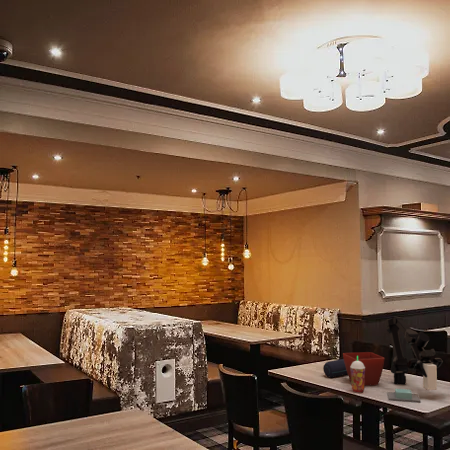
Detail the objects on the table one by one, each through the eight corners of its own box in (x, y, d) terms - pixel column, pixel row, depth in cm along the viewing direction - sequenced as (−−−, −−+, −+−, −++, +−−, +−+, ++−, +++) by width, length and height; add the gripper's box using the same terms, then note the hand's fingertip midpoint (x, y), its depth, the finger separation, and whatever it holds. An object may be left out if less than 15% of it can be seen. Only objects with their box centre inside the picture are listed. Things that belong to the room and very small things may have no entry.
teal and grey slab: (388, 400, 263) (388, 392, 263) (387, 393, 277) (387, 386, 277) (420, 402, 259) (420, 394, 259) (417, 395, 272) (417, 388, 272)
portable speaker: (345, 371, 332) (345, 356, 332) (357, 374, 324) (357, 358, 324) (320, 376, 317) (320, 361, 317) (332, 379, 309) (332, 363, 309)
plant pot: (355, 388, 288) (354, 358, 290) (342, 380, 307) (342, 352, 308) (385, 386, 291) (385, 358, 293) (371, 379, 310) (370, 352, 311)
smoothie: (348, 389, 285) (347, 354, 286) (362, 389, 285) (361, 354, 287) (353, 393, 276) (352, 357, 278) (367, 393, 277) (367, 357, 279)
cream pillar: (428, 390, 264) (427, 365, 265) (423, 387, 269) (422, 363, 270) (436, 389, 265) (436, 365, 266) (431, 387, 270) (431, 363, 271)
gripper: (409, 344, 271) (420, 369, 259) (440, 343, 274) (453, 367, 262) (402, 355, 278) (413, 380, 267) (432, 355, 281) (444, 379, 269)
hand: (431, 376), depth 266 cm, fingers closed on cream pillar, 5 cm apart
